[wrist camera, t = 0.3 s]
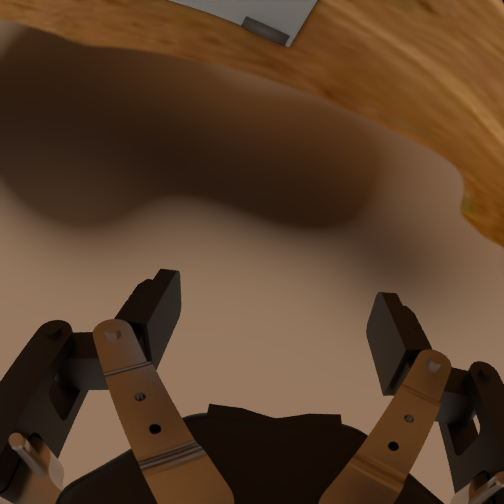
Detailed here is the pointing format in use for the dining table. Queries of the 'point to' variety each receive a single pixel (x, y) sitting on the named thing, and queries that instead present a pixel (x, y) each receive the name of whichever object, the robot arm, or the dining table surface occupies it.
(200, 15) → the dining table surface
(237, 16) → the chassis
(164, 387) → the robot arm
